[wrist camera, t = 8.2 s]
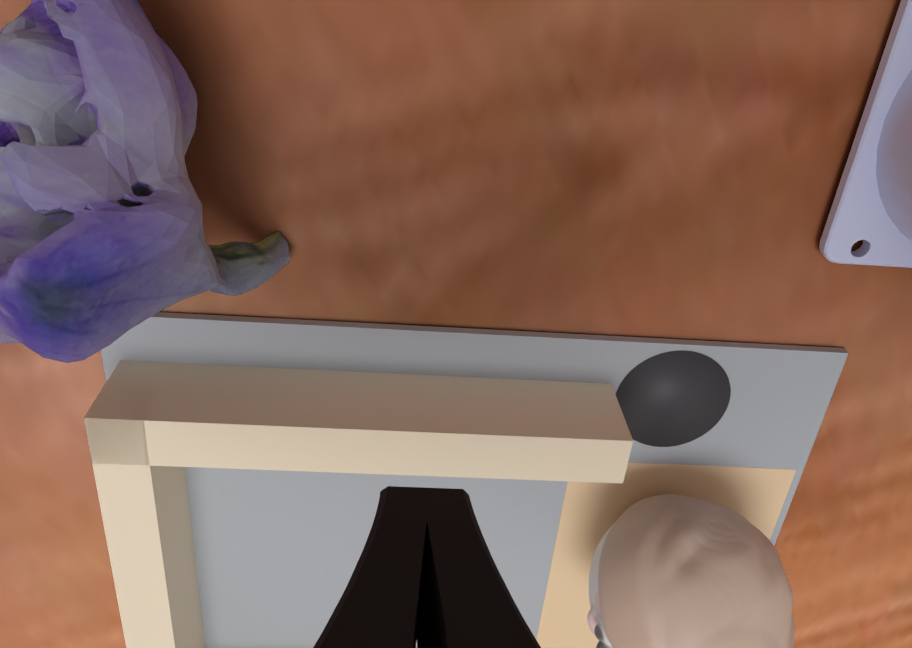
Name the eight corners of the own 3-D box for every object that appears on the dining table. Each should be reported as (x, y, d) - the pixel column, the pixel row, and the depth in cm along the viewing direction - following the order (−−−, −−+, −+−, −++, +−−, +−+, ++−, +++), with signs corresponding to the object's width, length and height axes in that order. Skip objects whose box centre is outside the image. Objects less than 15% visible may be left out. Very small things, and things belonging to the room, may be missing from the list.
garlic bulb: (549, 587, 28) (592, 821, 21) (599, 447, 25) (668, 666, 18) (723, 605, 29) (819, 837, 22) (791, 472, 26) (929, 691, 19)
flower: (437, 268, 15) (-218, 193, 10) (280, 430, 21) (-181, 441, 15) (355, -47, 19) (-149, -232, 13) (242, 166, 25) (-141, 98, 19)
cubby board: (843, 347, 24) (897, 407, 21) (709, 701, 32) (735, 777, 29) (99, 308, 22) (53, 367, 19) (160, 692, 30) (134, 771, 28)
